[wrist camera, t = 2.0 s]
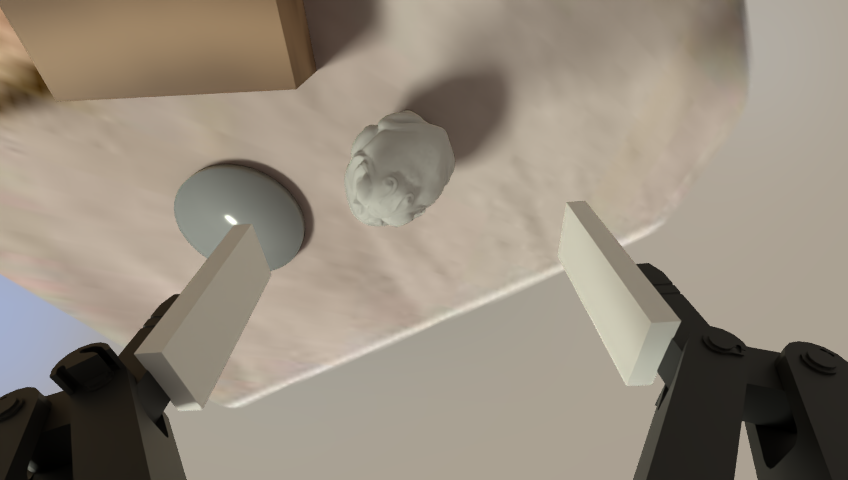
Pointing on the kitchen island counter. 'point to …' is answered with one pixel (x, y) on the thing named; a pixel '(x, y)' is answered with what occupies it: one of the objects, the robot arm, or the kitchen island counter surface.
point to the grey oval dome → (239, 211)
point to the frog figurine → (397, 169)
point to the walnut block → (163, 46)
